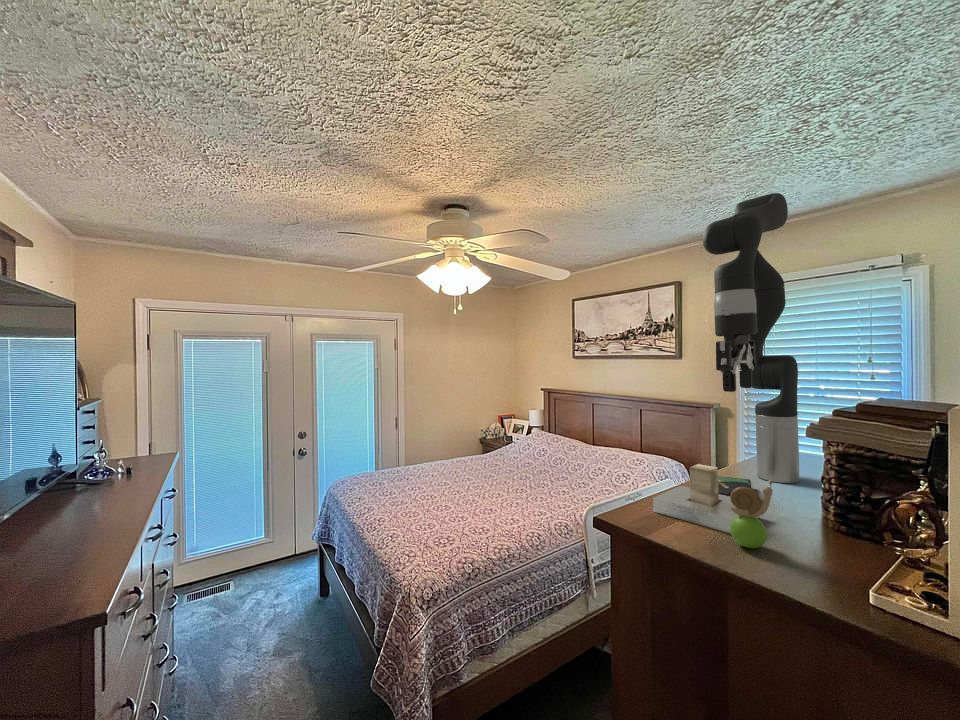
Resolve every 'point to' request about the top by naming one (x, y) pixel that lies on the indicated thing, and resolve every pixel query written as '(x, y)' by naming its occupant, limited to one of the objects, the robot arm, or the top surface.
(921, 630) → the top surface
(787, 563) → the top surface
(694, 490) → the birch peg
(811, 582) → the top surface
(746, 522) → the snail figurine
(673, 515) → the white flat block
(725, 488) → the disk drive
